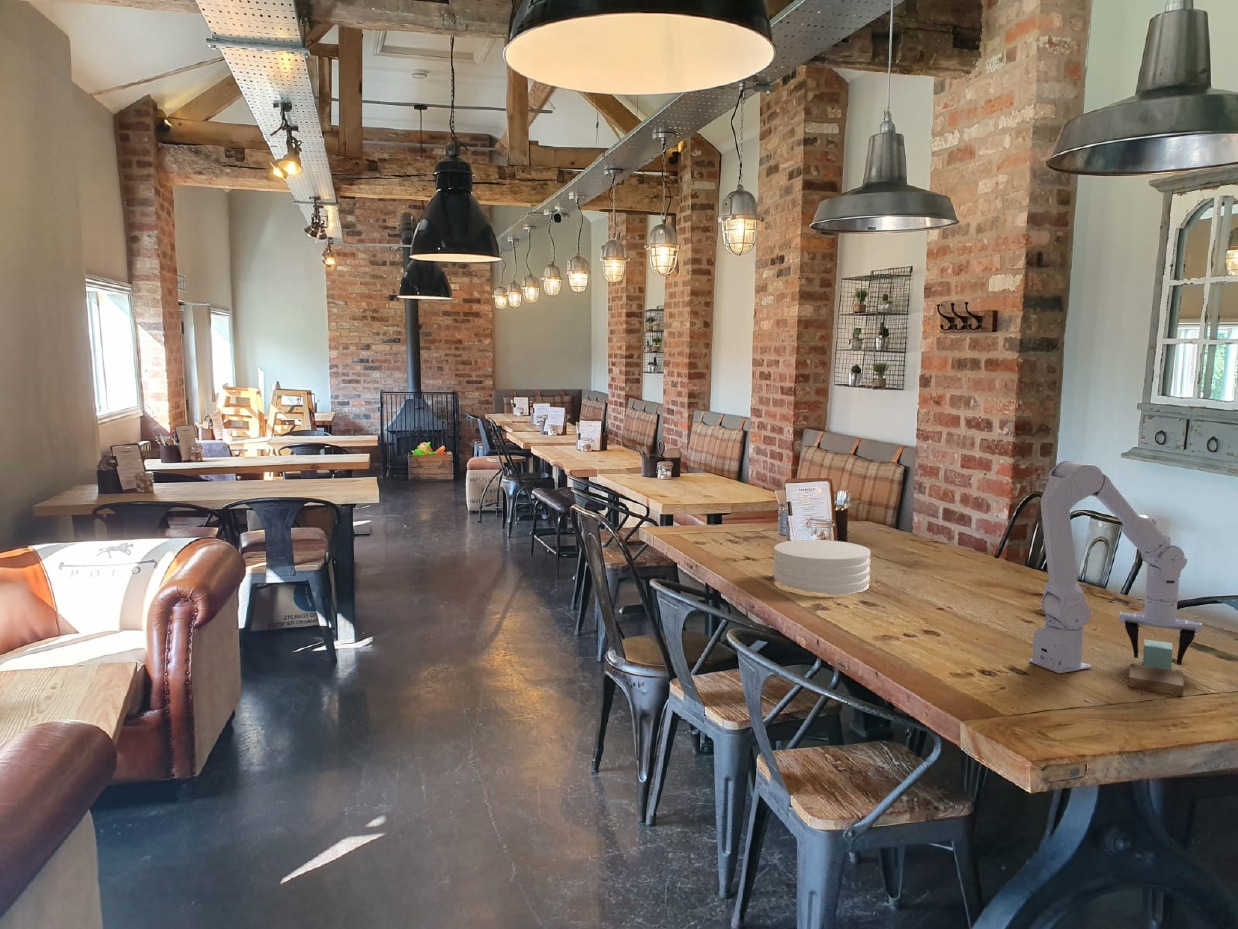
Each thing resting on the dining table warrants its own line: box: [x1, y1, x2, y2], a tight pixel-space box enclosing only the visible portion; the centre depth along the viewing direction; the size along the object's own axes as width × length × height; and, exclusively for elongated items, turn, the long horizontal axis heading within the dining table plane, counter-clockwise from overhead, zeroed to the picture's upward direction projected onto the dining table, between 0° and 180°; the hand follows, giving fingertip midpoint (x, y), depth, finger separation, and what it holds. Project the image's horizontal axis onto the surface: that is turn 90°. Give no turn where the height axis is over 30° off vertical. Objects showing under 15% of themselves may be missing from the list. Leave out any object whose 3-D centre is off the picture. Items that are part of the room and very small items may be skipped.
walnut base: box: [1128, 663, 1185, 697], centre depth 164 cm, size 9×9×2 cm
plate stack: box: [773, 539, 871, 595], centre depth 243 cm, size 28×28×12 cm
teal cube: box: [1142, 638, 1173, 670], centre depth 174 cm, size 5×5×5 cm
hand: (1157, 660), depth 174 cm, fingers open, 7 cm apart
